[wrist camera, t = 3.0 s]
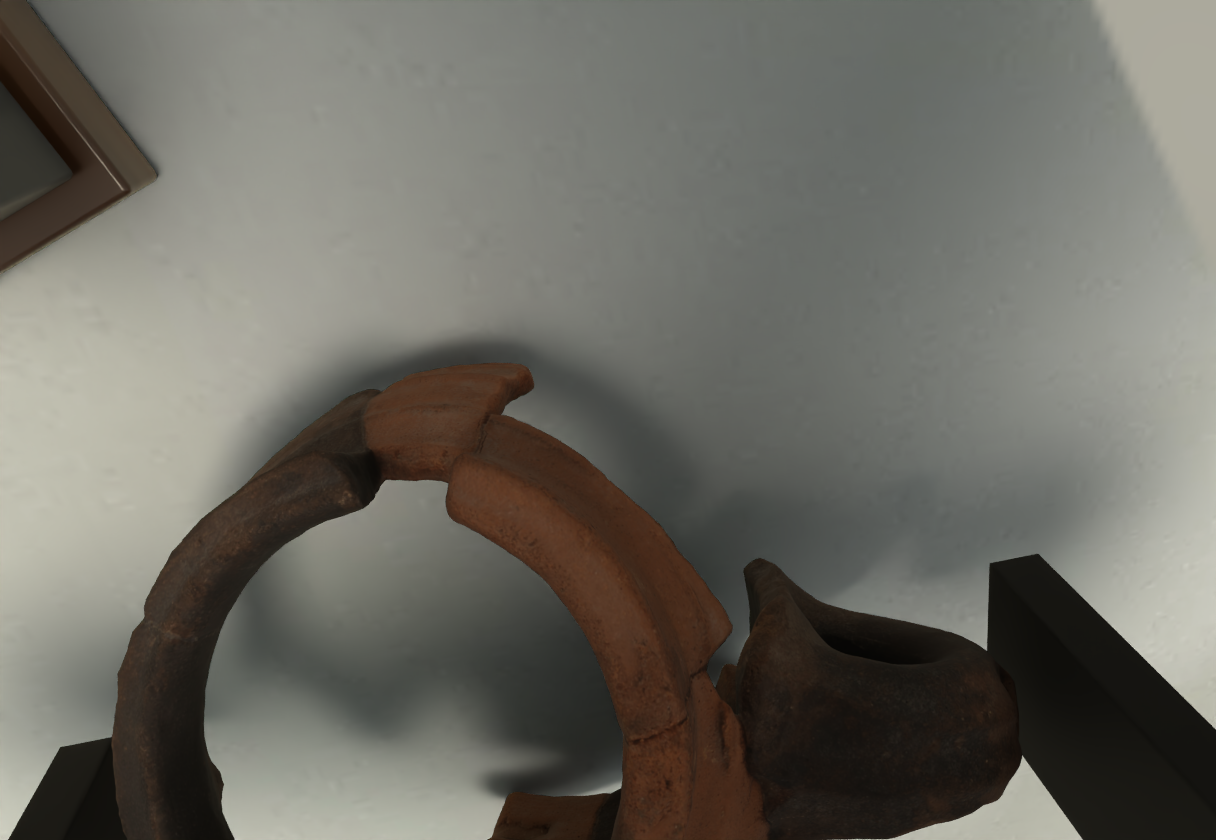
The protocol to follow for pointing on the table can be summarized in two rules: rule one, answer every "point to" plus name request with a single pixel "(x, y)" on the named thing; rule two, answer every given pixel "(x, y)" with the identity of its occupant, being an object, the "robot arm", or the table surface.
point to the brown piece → (62, 137)
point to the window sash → (25, 159)
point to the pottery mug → (617, 631)
